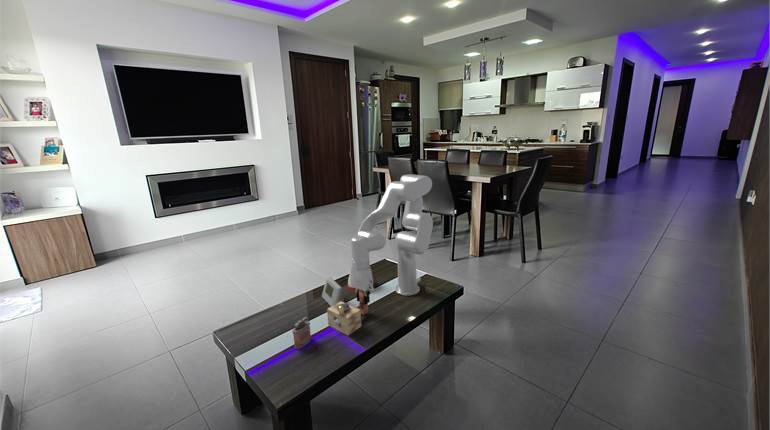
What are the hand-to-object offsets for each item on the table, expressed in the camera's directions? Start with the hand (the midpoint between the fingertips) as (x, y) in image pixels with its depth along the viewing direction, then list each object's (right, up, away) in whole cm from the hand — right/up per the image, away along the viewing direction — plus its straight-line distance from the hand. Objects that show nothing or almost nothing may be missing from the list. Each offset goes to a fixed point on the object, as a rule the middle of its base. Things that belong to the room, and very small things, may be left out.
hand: (363, 301), depth 145 cm
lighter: (-23, -12, -18) cm, 31 cm away
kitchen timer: (-3, 0, +30) cm, 30 cm away
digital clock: (-16, -4, +13) cm, 21 cm away
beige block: (-7, -9, -7) cm, 14 cm away
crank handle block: (-8, -1, -12) cm, 14 cm away
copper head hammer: (-5, -7, -4) cm, 10 cm away
